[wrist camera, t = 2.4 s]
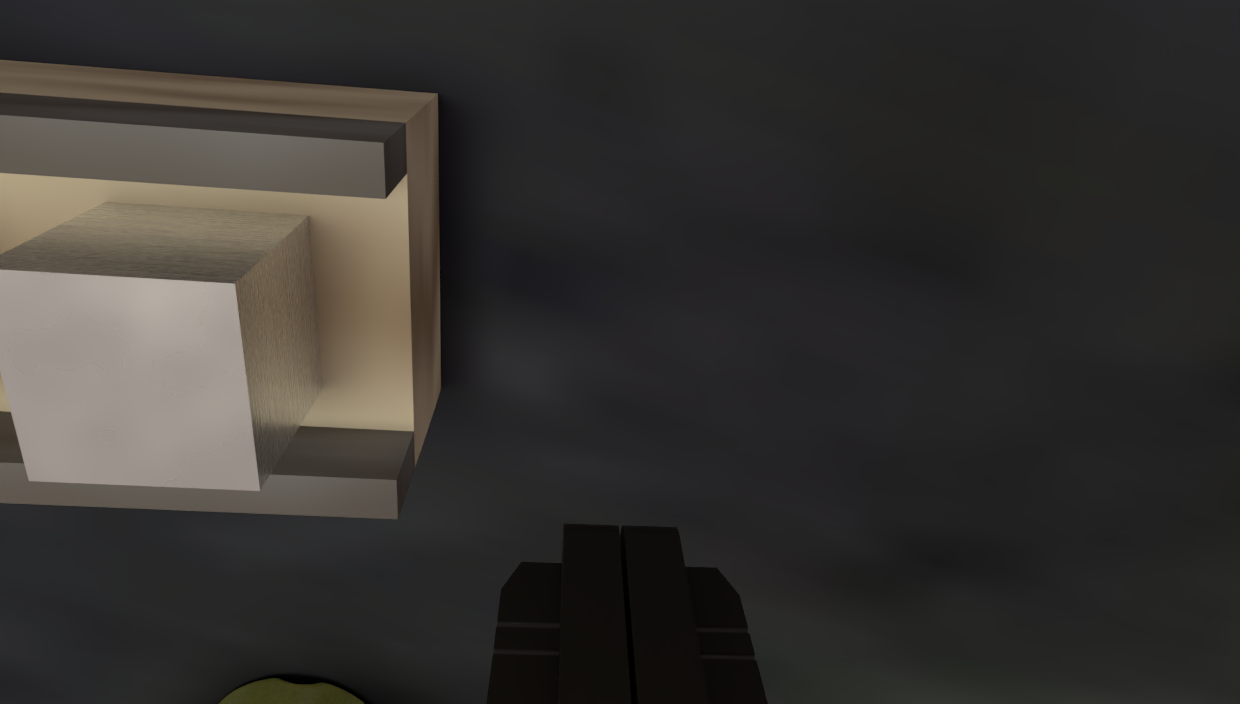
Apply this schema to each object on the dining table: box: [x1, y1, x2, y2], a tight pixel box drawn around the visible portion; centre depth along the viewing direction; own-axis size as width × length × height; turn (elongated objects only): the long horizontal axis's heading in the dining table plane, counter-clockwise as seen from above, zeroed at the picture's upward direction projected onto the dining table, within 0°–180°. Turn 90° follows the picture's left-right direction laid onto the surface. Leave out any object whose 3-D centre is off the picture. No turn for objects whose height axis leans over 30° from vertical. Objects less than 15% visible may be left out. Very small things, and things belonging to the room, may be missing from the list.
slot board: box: [0, 60, 441, 519], centre depth 18 cm, size 8×14×6 cm, turn 85°
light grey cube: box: [0, 202, 323, 491], centre depth 16 cm, size 4×4×4 cm
